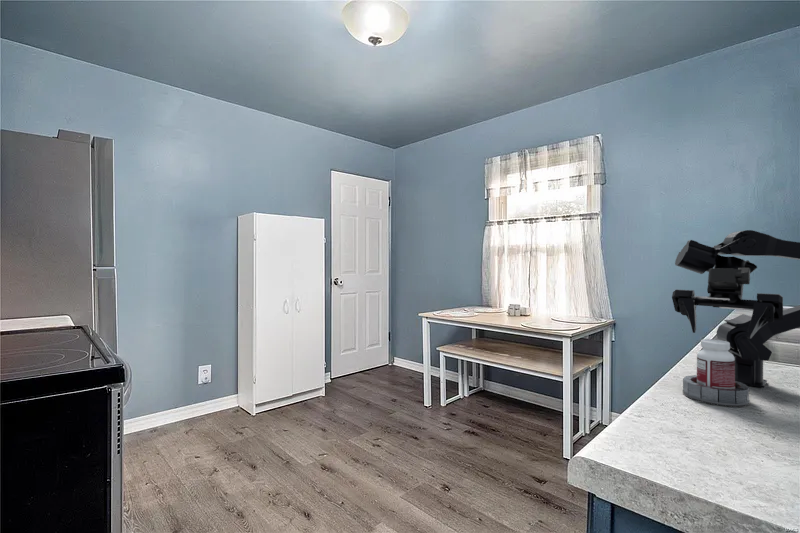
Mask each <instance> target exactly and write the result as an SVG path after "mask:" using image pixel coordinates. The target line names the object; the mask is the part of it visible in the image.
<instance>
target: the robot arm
mask: <svg viewBox="0 0 800 533" xmlns="http://www.w3.org/2000/svg"><path fill="white" fill-rule="evenodd" d="M724 255H730V256H724ZM741 256H742V257H746V256H747V257H777V258H782V259H783V258H784V259H789V260H797V261H800V241H791V240H785V239H781V238H777V237H776V236H773V235H770V234H767V233H765V232H764V233H763V232H760V231H756V230H752V229H747V230H739V231H732V232H730V233H729V234H727V236H726V237H725V238H724V240H723V241H721V242H719V243H718V244H716V245H714V246H709V245H706V244H703V243H701V242H698V241H697V240H693V239H688V240H687V241H686V244H685V245H684V246H683V247H682V249H681V250H680V251H679V252H678V254H677V255H676V258H675V262H674V265H675V266H676V267H679V268H682V269H686V270H688V271H691V272H693V273H697V274H700V275H703V274H705V273H706V272H707V273H708V277H707V288H706V289H707V294H709V295H708V296H705V295H704V296H703V295H696V294H695V290H694V289H674V291H673V292H672V295H671V299H672V304H673V308H674V311H675V312H676V313H680V315H682V316H685V317H687V319H688V321H689V324H690V328H691V332H692V333H693V334H695V333H696V331H697V316H698V315H697V306H703V307H712V308H719V309H725V310H726V309H729V310H743V311H744V310H745V311H752V315H747V314H744V313H743V314H739V315H737V316H736V317H733V318H730V319H724V323H721V324H720V325H719V326H718V328H717V329H716V338H717V340H722V341H727V342H729V343H730V349H729V350H728V352H729V353H731V354H733V356H734V358H735V381H737V382H741V383H743V384H745V385H747V386H749V387H750V386H751V387H756V388H762V389H763V388H765V387H766V385H767V383H768V380H767V379H764V361H769V360H770V358H771V356H772V354H773V351H772V350H770V349H769V348H768V347H767V346H765V345H764V344H766V343H767V342H768V341H769V340H770V339H772V338H773V337H775V336H776V335H779V334H782V333H786V332H789V331H792V330H796V329H799V328H800V305H796V306H793V307H790V308H787V309H784V297H783V296H782V295H781V294H780V293H765V292H763V293H762V292H761V293H760V292H757V293H756V299H743V294H744V293H743V292H744V287H745V286H744V285H750V283H751V274H752V273H753V272H754V271H755V270H756V269H758V265H756V264H755V263H753V262H751V261H750V260H745V259H743V258H739V257H741Z"/></svg>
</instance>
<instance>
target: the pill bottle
mask: <svg viewBox="0 0 800 533" xmlns="http://www.w3.org/2000/svg"><path fill="white" fill-rule="evenodd" d="M700 346H701V348H702V349H699V350H698V351H697V353H696V375H697V384H701V385H704V386H709V387H714V388H723V389H735V358H734V356H733V354H731V352H729V351H728V350H729V349H730V343H729V342H727V341H722V340H718V339H714V338H713V339H712V338H711V339H710V338H707V339H706V338H704V339H700Z"/></svg>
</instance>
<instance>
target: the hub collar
mask: <svg viewBox="0 0 800 533" xmlns="http://www.w3.org/2000/svg"><path fill="white" fill-rule="evenodd" d="M682 395H684V396H685V397H687V398H688V399H690V400H692V401H693V400H694V401H696V402H699V403H703V404H707V405H708V404H709V405H713V406H717V407H727V408H744V407H748V406H750V402H751V400H750V386H749V385H745V384H743V383H741V382H737V381H735V389H723V388H714V387H709V386H704V385H701V384H697V374H695V375H685V376H684V377H683V378H682Z"/></svg>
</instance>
